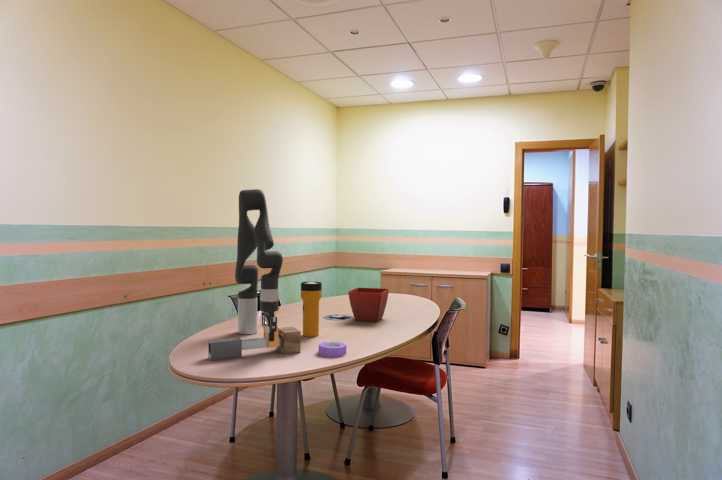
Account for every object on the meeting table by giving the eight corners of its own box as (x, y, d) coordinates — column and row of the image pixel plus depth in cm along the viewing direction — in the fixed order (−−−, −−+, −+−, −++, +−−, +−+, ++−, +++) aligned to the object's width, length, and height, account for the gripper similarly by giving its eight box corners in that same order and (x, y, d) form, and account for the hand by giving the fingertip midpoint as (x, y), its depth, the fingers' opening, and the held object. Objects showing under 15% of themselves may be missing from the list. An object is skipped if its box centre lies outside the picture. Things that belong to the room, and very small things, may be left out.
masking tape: (346, 350, 214) (346, 341, 214) (346, 357, 202) (346, 348, 202) (319, 349, 214) (319, 341, 214) (317, 357, 202) (317, 347, 202)
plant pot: (347, 321, 276) (347, 291, 275) (357, 315, 294) (357, 287, 294) (380, 323, 270) (381, 293, 270) (388, 317, 289) (389, 288, 288)
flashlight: (324, 282, 236) (303, 283, 233) (323, 336, 237) (303, 338, 234) (318, 280, 246) (298, 281, 242) (317, 332, 246) (298, 333, 243)
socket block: (276, 348, 213) (276, 328, 213) (292, 347, 217) (292, 326, 216) (284, 354, 204) (284, 332, 204) (300, 352, 208) (300, 331, 207)
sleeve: (208, 357, 198) (208, 340, 197) (238, 354, 203) (238, 337, 203) (210, 361, 193) (211, 342, 193) (241, 357, 199) (241, 339, 198)
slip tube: (228, 348, 202) (228, 328, 202) (282, 342, 213) (282, 323, 212) (231, 352, 196) (232, 331, 196) (287, 346, 207) (287, 326, 207)
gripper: (255, 297, 211) (255, 336, 211) (265, 302, 198) (265, 344, 198) (272, 296, 214) (272, 335, 214) (283, 301, 201) (283, 342, 202)
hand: (269, 339), depth 206 cm, fingers closed on slip tube, 6 cm apart
